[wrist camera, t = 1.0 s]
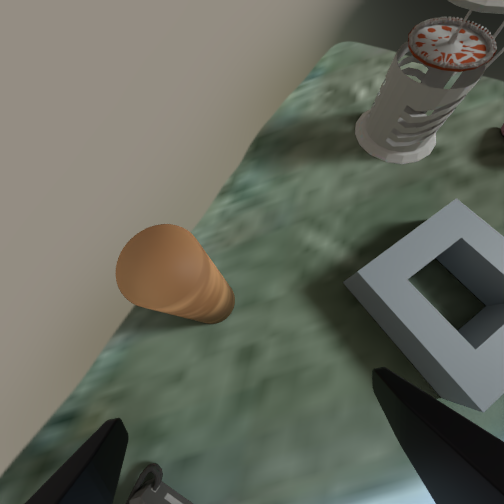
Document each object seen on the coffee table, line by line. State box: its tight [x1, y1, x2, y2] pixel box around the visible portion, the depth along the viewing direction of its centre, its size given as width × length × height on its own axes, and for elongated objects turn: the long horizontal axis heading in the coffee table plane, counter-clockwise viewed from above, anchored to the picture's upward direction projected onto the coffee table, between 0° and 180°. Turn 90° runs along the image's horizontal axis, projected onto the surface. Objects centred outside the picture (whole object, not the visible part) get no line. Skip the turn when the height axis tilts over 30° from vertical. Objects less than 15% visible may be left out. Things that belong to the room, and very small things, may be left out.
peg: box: [116, 224, 235, 324], centre depth 17 cm, size 4×4×12 cm
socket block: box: [343, 198, 504, 412], centre depth 20 cm, size 12×12×4 cm
